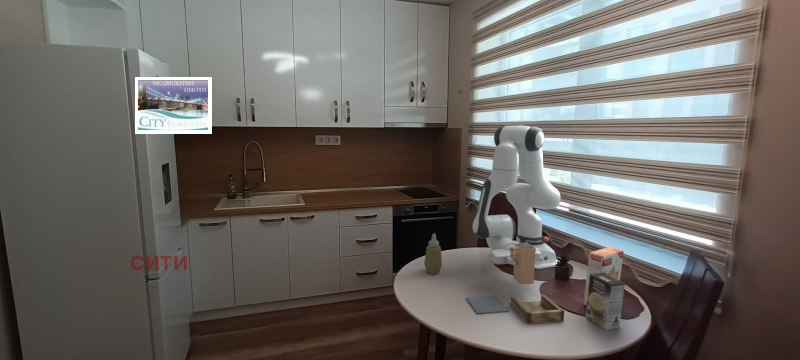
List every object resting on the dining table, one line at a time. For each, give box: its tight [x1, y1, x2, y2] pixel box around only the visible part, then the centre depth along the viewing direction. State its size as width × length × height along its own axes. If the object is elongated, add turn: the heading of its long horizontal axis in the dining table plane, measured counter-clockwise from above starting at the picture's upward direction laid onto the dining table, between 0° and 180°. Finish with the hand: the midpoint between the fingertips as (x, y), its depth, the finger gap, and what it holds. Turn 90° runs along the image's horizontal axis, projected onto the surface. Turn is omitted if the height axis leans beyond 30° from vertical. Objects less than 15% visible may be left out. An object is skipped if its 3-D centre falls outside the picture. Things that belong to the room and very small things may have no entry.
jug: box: [510, 243, 536, 286], centre depth 143 cm, size 9×6×15 cm, turn 100°
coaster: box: [465, 294, 510, 315], centre depth 136 cm, size 12×12×1 cm
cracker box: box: [583, 246, 625, 306], centre depth 137 cm, size 14×6×21 cm, turn 122°
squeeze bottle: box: [424, 233, 443, 275], centre depth 165 cm, size 8×8×18 cm
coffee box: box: [585, 272, 626, 331], centre depth 124 cm, size 9×6×16 cm
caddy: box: [508, 294, 565, 324], centre depth 132 cm, size 13×14×4 cm
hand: (524, 263), depth 143 cm, fingers closed on jug, 6 cm apart
